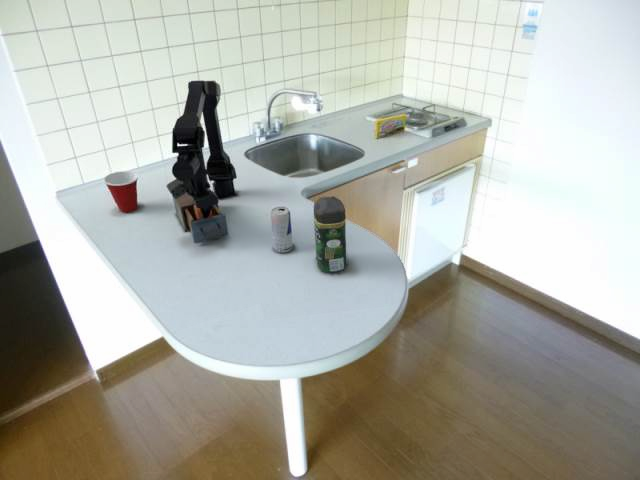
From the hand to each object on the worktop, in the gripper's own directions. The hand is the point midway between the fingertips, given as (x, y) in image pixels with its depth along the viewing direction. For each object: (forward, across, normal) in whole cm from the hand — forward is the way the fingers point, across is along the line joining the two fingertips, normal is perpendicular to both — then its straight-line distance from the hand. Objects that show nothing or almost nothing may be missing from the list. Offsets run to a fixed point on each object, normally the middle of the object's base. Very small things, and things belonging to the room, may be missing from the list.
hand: (204, 215), depth 139 cm
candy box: (+6, -46, +97) cm, 108 cm away
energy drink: (+6, +20, +17) cm, 27 cm away
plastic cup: (+6, -30, -19) cm, 36 cm away
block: (+1, 0, 0) cm, 1 cm away
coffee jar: (+6, +34, +25) cm, 42 cm away
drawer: (+5, +2, 0) cm, 6 cm away
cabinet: (+6, -11, 0) cm, 13 cm away
